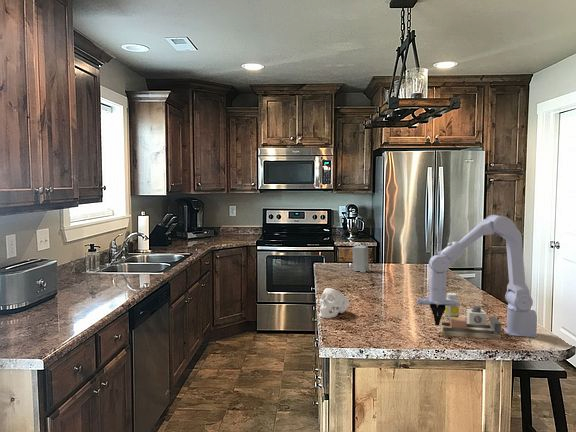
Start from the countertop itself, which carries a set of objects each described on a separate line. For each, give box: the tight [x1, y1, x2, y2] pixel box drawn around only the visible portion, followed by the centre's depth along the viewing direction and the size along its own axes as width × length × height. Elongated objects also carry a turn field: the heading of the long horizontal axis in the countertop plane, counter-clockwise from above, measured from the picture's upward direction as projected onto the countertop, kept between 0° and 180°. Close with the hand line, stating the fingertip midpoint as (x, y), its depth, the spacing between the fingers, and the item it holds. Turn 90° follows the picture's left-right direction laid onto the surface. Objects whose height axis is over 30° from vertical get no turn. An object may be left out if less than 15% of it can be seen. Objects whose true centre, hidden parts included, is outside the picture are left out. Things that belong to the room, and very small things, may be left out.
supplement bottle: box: [444, 292, 460, 320], centre depth 191 cm, size 5×5×10 cm
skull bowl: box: [318, 287, 350, 319], centre depth 196 cm, size 10×14×12 cm
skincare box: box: [351, 245, 370, 273], centre depth 294 cm, size 8×7×16 cm
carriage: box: [449, 317, 467, 329], centre depth 172 cm, size 5×5×3 cm
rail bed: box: [440, 316, 502, 340], centre depth 171 cm, size 19×9×6 cm, turn 78°
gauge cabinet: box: [466, 308, 487, 325], centre depth 180 cm, size 6×6×6 cm
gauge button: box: [472, 306, 482, 313], centre depth 181 cm, size 3×3×5 cm
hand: (437, 324), depth 173 cm, fingers closed
